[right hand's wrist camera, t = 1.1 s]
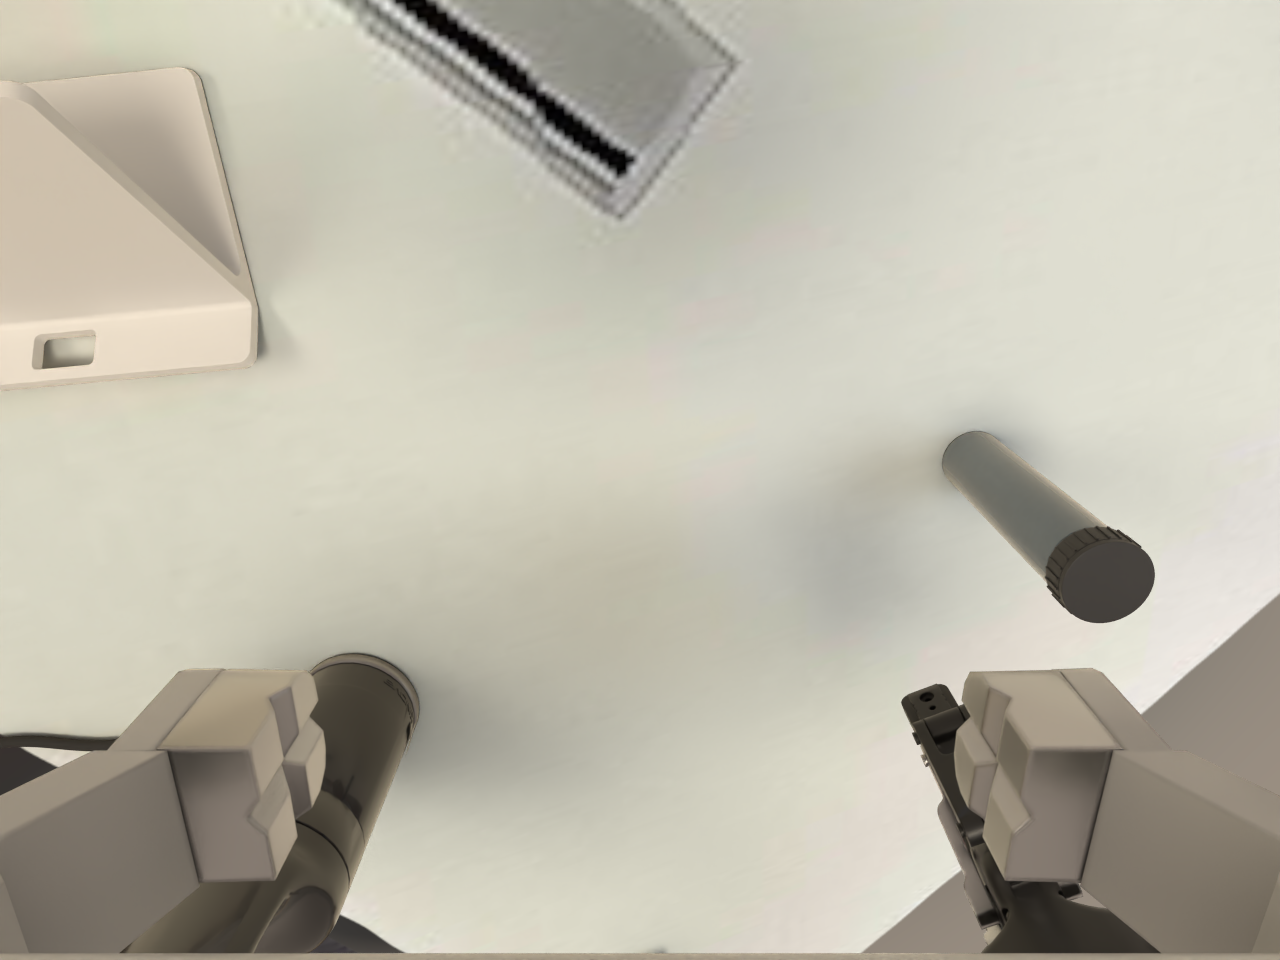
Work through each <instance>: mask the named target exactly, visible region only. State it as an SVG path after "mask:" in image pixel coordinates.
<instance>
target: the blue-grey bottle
mask: <svg viewBox="0 0 1280 960" xmlns="http://www.w3.org/2000/svg"><path fill="white" fill-rule="evenodd" d="M942 467H943V471H944V474H945V476H946V478H947V479H948V480H949V481H950V482H951V483H952V484H953V485H954V486H955V487H956V488H957V490H958V491H959V492H960V493H961V494H962V495H963V496H964V497H965V498H966V499H967V500H968V501H969V502H970V503H971V504H972V505H973V506H974V507H975V508H976V509H977V510H978V511H979V513H980V514H981V515H982V516H983V517H984V518H985V519H986V520H987V521H988V522H989V523H990V524H991V525H992V526H993V527H994V528H995V529H996V530H997V531H998V532H999V533H1000V534H1001V536H1002V537H1003V538H1004V539H1005V540H1006V541H1007V542H1008V543H1009V544H1010V545H1011V546H1012V547H1013V548H1014V549H1015V550H1016V551H1017V552H1018V553H1019V554H1020V555H1021V556H1022V557H1023V559H1024V560H1025V561H1026V562H1027V563H1028V564H1029V565H1030V566H1031V567H1032V568H1033V569H1034V570H1035V571H1036V572H1037V573H1038V574H1039V575H1040V576H1041V577H1042V578H1043V579H1044V580H1045V582H1046V583H1047V581H1046V579H1045V576H1046V569H1045V566H1047V562H1048V559H1049V558H1048V557H1049V556H1050V555H1051V553H1052V552H1053V550H1054V548H1055V547H1056V546H1057V545H1058V544H1059V543H1060V542H1061V541H1062V539H1065V538H1066V537H1068V536H1069V535H1071V534H1073V532H1076V531H1079V530H1082V529H1084V528H1090V527H1096V526H1099V527H1106V528H1107V525H1105V524H1104V523H1103V522H1102V521H1100V520H1099V519H1098V518H1097V517H1095V516H1094V515H1093V514H1091V513H1090V512H1089V511H1088V510H1086V509H1085V508H1084V507H1083V506H1081V505H1080V504H1079V503H1077V502H1076V501H1075V500H1074V499H1072V498H1071V497H1070V496H1069V495H1067V494H1066V493H1065V492H1064V491H1062V490H1061V489H1060V488H1058V487H1057V486H1056V485H1055V484H1053V483H1052V482H1051V481H1050V480H1048V479H1047V478H1046V477H1045V476H1043V475H1042V474H1041V473H1039V472H1038V471H1037V470H1036V469H1034V468H1033V467H1032V466H1031V465H1029V464H1028V463H1027V462H1025V461H1024V460H1023V459H1022V458H1020V457H1019V456H1018V455H1017V454H1015V453H1014V452H1013V451H1012V450H1010V449H1009V448H1008V447H1006V446H1005V445H1004V444H1003V443H1001V442H1000V441H999V440H998V439H996V438H995V437H994V436H992V435H991V434H988V433H985V432H980V431H974V432H969V433H965V434H963V435H961V436H959V437H958V438H956V439H955V440H954V441H952V443H951V444H950V445H949V446H948V447H947V449H946V451H945V453H944V456H943V462H942Z"/></svg>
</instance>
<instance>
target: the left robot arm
mask: <svg viewBox="0 0 1280 960" xmlns="http://www.w3.org/2000/svg"><path fill="white" fill-rule="evenodd" d="M310 674H311V675H312V676H313V677H314V681H315V686H316V691H317V696H318V702H317V704H316V705H315V707H314V709H313V711H312V712H311V714H310V718H311V719H312V720H313V721H314V722H315V723H316V724H317V725H318V726H319V727H320V728H321V729H322V730H323V732H324V739H325V746H326V767H325V771H324V776H323V780H322V785H321V789H320V792H319V794H318V796H317V798H316V800H315V803H314V805H313V807H312V809H310V810H309V811H307V812H306V813H304V814H303V815H301V816H300V817H299V818H297V819H296V820H295V824H296V830H297V836H298V837H297V839H296V841H295V842H294V844H293V846H292V848H291V850H290V852H289V854H288V856H287V858H286V860H285V862H284V864H283V866H282V868H281V870H280V872H279V874H278V876H277V878H276V880H275V881H243V882H208V883H199V888H197V889H196V890H195V891H194V892H193V893H191V894H190V895H189V896H188V897H186V898H185V899H184V900H183V901H182V902H180V903H179V904H178V905H177V906H176V907H174V908H173V909H172V910H171V911H169V912H168V913H167V914H166V915H165V916H163V917H162V918H161V919H160V920H159V921H157V922H156V923H155V924H154V925H153V926H151V927H150V928H149V929H148V930H146V931H145V932H144V933H143V934H142V935H140V936H139V937H138V938H137V939H136V940H134V941H133V942H132V943H131V944H129V945H128V946H127V947H126V948H125V949H123V950H122V951H121V952H120V953H310V952H311V951H313V950H314V949H316V948H317V947H318V946H319V945H320V944H321V943H323V941H324V940H325V939H326V938H327V937H328V935H329V934H330V932H331V931H332V929H333V927H334V925H335V924H336V921H337V919H338V917H339V915H340V912H341V910H342V907H343V904H344V902H345V899H346V897H347V894H348V891H349V889H350V886H351V884H352V881H353V879H354V876H355V874H356V871H357V869H358V866H359V864H360V861H361V859H362V856H363V853H364V851H365V848H366V846H367V843H368V841H369V838H370V836H371V833H372V831H373V828H374V826H375V823H376V821H377V818H378V816H379V813H380V811H381V808H382V806H383V803H384V801H385V798H386V796H387V793H388V791H389V788H390V786H391V783H392V781H393V778H394V776H395V773H396V771H397V768H398V766H399V763H400V761H401V758H402V756H403V753H404V751H405V748H406V746H407V743H408V741H409V739H410V741H409V745H410V742H411V738H412V735H413V732H414V729H415V726H416V724H417V721H418V717H419V702H418V698H417V694H416V692H415V690H414V688H413V686H412V684H411V683H410V682H409V680H408V679H407V678H406V677H405V676H404V675H403V674H402V673H401V672H400V671H399V670H398V669H396V668H395V667H394V666H392V665H390V664H389V663H387V662H385V661H383V660H380V659H378V658H375V657H371V656H367V655H360V654H346V655H339V656H335V657H332V658H329V659H327V660H325V661H323V662H321V663H320V664H318V665H317V666H316V667H314V668H313V669H312V670H311V672H310ZM901 703H902V706H903V709H904V711H905V713H906V716H907V718H908V720H909V722H910V724H911V726H912V728H913V730H914V732H913V733H912V734H913V737H914V739H915V741H916V743H917V745H919V744H921V746H920V747H921V749H922V752H923V755H921V758H922V760H923V762H924V765H925V767H928V766H929V768H930V770H931V772H932V774H933V776H934V779H935V781H936V783H937V785H938V787H939V790H940V792H941V794H942V796H943V800H942V801H941V803H940V804H939V806H938V816H939V819H940V822H941V824H942V826H943V828H944V831H945V833H946V835H947V837H948V840H949V842H950V844H951V846H952V849H953V851H954V853H955V855H956V858H957V860H958V862H959V864H960V867H961V869H962V871H963V873H964V875H965V881H964V890H965V893H966V896H967V898H968V900H969V903H970V905H971V907H972V909H973V912H974V914H975V916H976V918H977V921H978V923H979V925H980V927H981V929H982V930H983V929H986V931H987V932H985V933H984V935H983V936H984V938H985V941H986V943H987V945H988V946H987V947H986V948H985V949H984V950H983V951H982V952H981V953H1160V952H1159V951H1158V950H1157V949H1156V948H1154V947H1153V946H1152V945H1151V944H1150V943H1148V942H1147V941H1146V940H1145V939H1144V938H1142V937H1141V936H1140V935H1139V934H1137V933H1136V932H1135V931H1134V930H1133V929H1131V928H1130V927H1129V926H1128V925H1127V924H1125V923H1124V922H1123V921H1122V920H1121V919H1119V918H1118V917H1117V916H1116V915H1114V914H1113V913H1112V912H1111V911H1110V910H1108V909H1107V908H1098V907H1093V906H1087V905H1083V904H1079V903H1075V902H1072V901H1071V900H1074V899H1077V898H1080V897H1083V893H1082V891H1081V888H1080V886H1079V884H1078V883H1071V882H1036V881H1005V879H1004V877H1003V875H1002V874H1001V872H1000V870H999V868H998V866H997V864H996V862H995V860H994V858H993V856H992V854H991V852H990V850H989V848H988V846H987V844H986V842H985V841H984V839H983V837H982V836H983V830H984V824H985V820H984V819H983V818H981V817H980V816H979V815H977V814H976V813H974V812H973V811H971V810H970V809H968V807H967V805H966V803H965V801H964V798H963V796H962V794H961V792H960V789H959V785H958V782H957V778H956V772H955V760H954V749H955V740H956V732H957V730H958V729H959V728H960V727H961V726H962V725H963V724H964V723H965V722H966V721H967V720H968V719H969V717H970V714H969V712H968V711H967V709H966V707H965V705H964V704H963V705H960V706H958V704H957V703H956V701H955V699H954V697H953V696H952V694H951V692H950V691H949V689H948V688H947V686H945V685H942V684H935V685H932V686H929V687H927V688H924V689H921V690H919V691H916V692H913V693H911V694H908V695H907V696H905V697H904V698H903V699H902V702H901ZM116 740H117V739H116ZM116 740H77V739H66V738H55V737H43V736H12V737H2V738H0V748H8V747H42V748H54V749H64V750H76V751H94V750H108V749H109V748H110V746H111V745H112V744H113V743H114V742H115V741H116ZM409 745H408V748H409ZM408 748H407V751H408ZM406 753H407V752H406ZM405 756H406V755H405Z"/></svg>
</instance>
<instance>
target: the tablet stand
mask: <svg viewBox="0 0 1280 960" xmlns="http://www.w3.org/2000/svg"><path fill="white" fill-rule="evenodd" d="M93 335H96V339H95V351H94V360H93V362H92V363H91V364H89V365H82V366H71V367H60V368H50V369H42V364H43V352H44V344H45V342H46V341H48V340H50V339H61V338H72V337H83V336H93ZM257 338H258V306H257V302H256V298H255V294H254V290H253V286H252V282H251V278H250V274H249V270H248V266H247V262H246V258H245V254H244V250H243V246H242V242H241V238H240V234H239V230H238V226H237V222H236V218H235V214H234V210H233V206H232V202H231V198H230V194H229V190H228V186H227V182H226V178H225V174H224V170H223V166H222V162H221V158H220V154H219V150H218V146H217V142H216V138H215V134H214V130H213V126H212V122H211V118H210V114H209V110H208V106H207V102H206V98H205V94H204V90H203V86H202V82H201V79H200V77H199V76H198V75H197V74H196V73H195V72H194V71H193V70H190V69H187V68H181V67H175V68H165V69H155V70H146V71H136V72H126V73H117V74H107V75H97V76H88V77H78V78H68V79H59V80H49V81H39V82H30V83H18V82H14V81H0V391H5V390H16V389H27V388H38V387H49V386H60V385H71V384H82V383H93V382H104V381H115V380H126V379H137V378H148V377H158V376H169V375H180V374H191V373H202V372H213V371H224V370H235V369H245V368H249V367H251V366H252V365H253V364H254V363H255V361H256V359H257Z"/></svg>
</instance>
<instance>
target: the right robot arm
mask: <svg viewBox="0 0 1280 960" xmlns="http://www.w3.org/2000/svg"><path fill="white" fill-rule="evenodd" d="M317 702H318V696H317V691H316V686H315V681H314V677H313V676H312V675H311V674H310V673H309V672H308V671H307V670H259V669H228V670H226V669H187V670H183V671H179V672H178V673H177V674H176V675H175V676H174V677H173V678H172V679H171V680H170V682H169V683H168V684H167V685H166V686H165V687H164V688H163V689H162V690H161V691H160V693H159V694H158V695H157V696H156V697H155V698H154V699H153V700H152V701H151V702H150V704H149V705H148V706H147V707H146V708H145V709H144V710H143V711H142V712H141V713H140V715H139V716H138V717H137V718H136V719H135V720H134V721H133V722H132V723H131V724H130V726H129V727H128V728H127V729H126V730H125V731H124V732H123V733H122V734H121V735H120V737H119V738H118V739H117V740H116V741H115V742H114V743H113V744H112V745H111V746H110V748H109V749H108V750H94V751H91V752H89V753H87V754H85V755H83V756H81V757H79V758H77V759H75V760H73V761H71V762H69V763H67V764H65V765H63V766H61V767H59V768H57V769H54V770H52V771H50V772H48V773H46V774H44V775H42V776H40V777H38V778H36V779H34V780H32V781H30V782H28V783H26V784H24V785H21V786H19V787H17V788H15V789H13V790H11V791H9V792H7V793H5V794H3V795H1V796H0V960H1280V796H1279V795H1277V794H1275V793H1273V792H1271V791H1269V790H1267V789H1264V788H1262V787H1260V786H1258V785H1256V784H1254V783H1252V782H1250V781H1248V780H1246V779H1244V778H1242V777H1240V776H1238V775H1236V774H1234V773H1232V772H1230V771H1228V770H1225V769H1223V768H1221V767H1219V766H1217V765H1215V764H1213V763H1211V762H1209V761H1207V760H1205V759H1203V758H1201V757H1199V756H1197V755H1195V754H1193V753H1191V752H1188V751H1186V750H1172V749H1171V748H1170V747H1169V745H1168V744H1167V743H1166V742H1165V741H1164V740H1163V739H1162V738H1161V737H1160V736H1159V734H1158V733H1157V732H1156V731H1155V730H1154V729H1153V728H1152V727H1151V726H1150V724H1149V723H1148V722H1147V721H1146V720H1145V719H1144V718H1143V717H1142V716H1141V715H1140V713H1139V712H1138V711H1137V710H1136V709H1135V708H1134V707H1133V706H1132V705H1131V704H1130V702H1129V701H1128V700H1127V699H1126V698H1125V697H1124V696H1123V695H1122V694H1121V693H1120V691H1119V690H1118V689H1117V688H1116V687H1115V686H1114V685H1113V684H1112V683H1111V682H1110V680H1109V679H1108V678H1107V677H1106V676H1105V675H1104V674H1103V673H1102V672H1100V671H1098V670H1095V669H1093V668H1080V669H1052V670H1030V671H982V672H970V673H969V675H968V677H967V679H966V681H965V684H964V689H963V695H962V702H963V704H964V705H965V707H966V709H967V711H968V712H969V714H970V717H969V719H968V720H967V721H966V722H965V723H964V724H963V725H962V726H961V727H960V728H959V729H958V730H957V732H956V740H955V749H954V760H955V772H956V778H957V782H958V785H959V789H960V792H961V794H962V796H963V798H964V801H965V803H966V805H967V807H968V809H970V810H971V811H973V812H974V813H976V814H977V815H979V816H980V817H981V818H983V819H984V820H985V824H984V830H983V836H982V837H983V839H984V841H985V842H986V844H987V846H988V848H989V850H990V852H991V854H992V856H993V858H994V860H995V862H996V864H997V866H998V868H999V870H1000V872H1001V874H1002V875H1003V877H1004V879H1005V881H1036V882H1071V883H1081V885H1080V886H1081V887H1082V888H1083V889H1084V890H1085V891H1087V892H1088V893H1089V894H1090V895H1091V896H1093V897H1094V898H1095V899H1096V900H1098V901H1099V902H1100V903H1101V904H1102V905H1104V906H1105V907H1106V908H1107V909H1108V910H1110V911H1111V912H1112V913H1113V914H1114V915H1116V916H1117V917H1118V918H1119V919H1121V920H1122V921H1123V922H1124V923H1125V924H1127V925H1128V926H1129V927H1130V928H1131V929H1133V930H1134V931H1135V932H1136V933H1137V934H1139V935H1140V936H1141V937H1142V938H1144V939H1145V940H1146V941H1147V942H1148V943H1150V944H1151V945H1152V946H1153V947H1154V948H1156V949H1157V950H1158V951H1159V952H1160V953H120V952H121V951H122V950H123V949H125V948H126V947H127V946H128V945H129V944H131V943H132V942H133V941H134V940H136V939H137V938H138V937H139V936H140V935H142V934H143V933H144V932H145V931H146V930H148V929H149V928H150V927H151V926H153V925H154V924H155V923H156V922H157V921H159V920H160V919H161V918H162V917H163V916H165V915H166V914H167V913H168V912H169V911H171V910H172V909H173V908H174V907H176V906H177V905H178V904H179V903H180V902H182V901H183V900H184V899H185V898H186V897H188V896H189V895H190V894H191V893H193V892H194V891H195V890H196V889H197V888H199V883H208V882H243V881H275V880H276V878H277V876H278V874H279V872H280V870H281V868H282V866H283V864H284V862H285V860H286V858H287V856H288V854H289V852H290V850H291V848H292V846H293V844H294V842H295V841H296V839H297V837H298V836H297V830H296V824H295V820H296V819H297V818H299V817H300V816H301V815H303V814H304V813H306V812H307V811H309V810H310V809H312V807H313V805H314V803H315V800H316V798H317V796H318V794H319V792H320V789H321V785H322V780H323V776H324V771H325V767H326V746H325V739H324V732H323V730H322V729H321V728H320V727H319V726H318V725H317V724H316V723H315V722H314V721H313V720H312V719H311V718H310V714H311V712H312V711H313V709H314V707H315V705H316V704H317Z"/></svg>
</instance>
